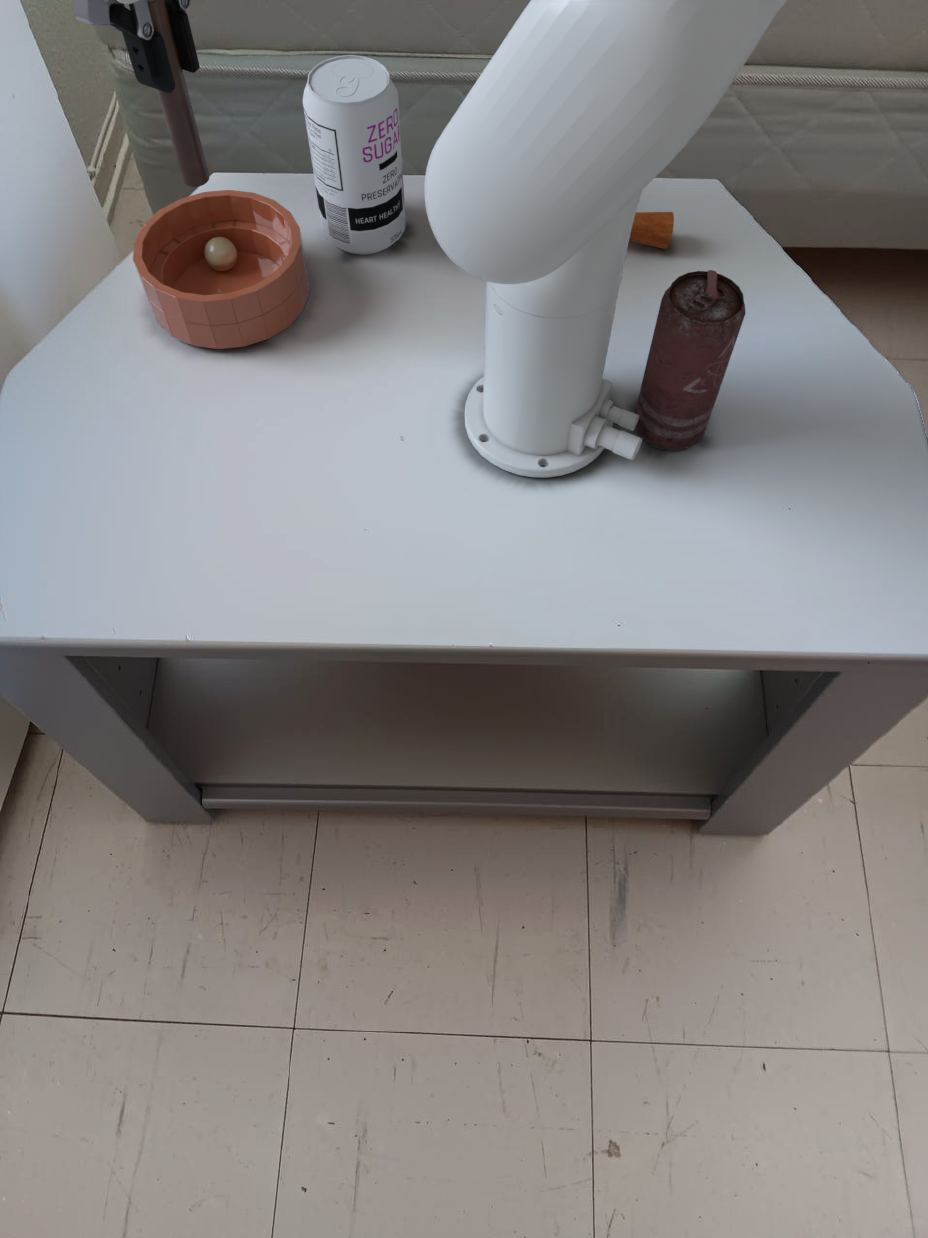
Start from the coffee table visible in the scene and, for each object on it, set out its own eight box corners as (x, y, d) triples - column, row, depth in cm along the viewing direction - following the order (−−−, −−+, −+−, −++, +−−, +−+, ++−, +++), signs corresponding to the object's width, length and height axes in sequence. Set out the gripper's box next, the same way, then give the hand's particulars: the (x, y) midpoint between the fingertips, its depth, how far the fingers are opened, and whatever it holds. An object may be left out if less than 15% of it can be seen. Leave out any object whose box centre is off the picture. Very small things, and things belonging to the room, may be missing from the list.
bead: (246, 262, 88) (240, 236, 85) (228, 281, 86) (220, 255, 84) (221, 252, 88) (213, 225, 86) (202, 271, 87) (194, 244, 84)
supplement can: (333, 199, 93) (313, 46, 80) (413, 209, 92) (405, 56, 79) (313, 252, 89) (288, 100, 76) (396, 262, 88) (385, 111, 75)
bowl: (339, 275, 88) (331, 221, 82) (251, 374, 81) (236, 322, 76) (214, 227, 91) (199, 171, 86) (120, 319, 85) (98, 265, 79)
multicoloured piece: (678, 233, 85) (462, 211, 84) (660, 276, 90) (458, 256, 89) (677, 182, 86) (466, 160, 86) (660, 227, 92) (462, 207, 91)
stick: (215, 175, 76) (168, -10, 63) (199, 190, 75) (149, 5, 62) (193, 167, 76) (143, -18, 64) (177, 181, 75) (123, -3, 63)
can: (703, 399, 80) (746, 266, 68) (705, 456, 77) (751, 327, 65) (633, 394, 80) (663, 261, 68) (632, 450, 77) (664, 321, 65)
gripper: (37, -182, 48) (142, 150, 64) (218, -286, 55) (272, 37, 71) (-72, -213, 49) (57, 118, 65) (118, -310, 56) (192, 11, 72)
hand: (168, 73), depth 68 cm, fingers closed on stick, 2 cm apart
